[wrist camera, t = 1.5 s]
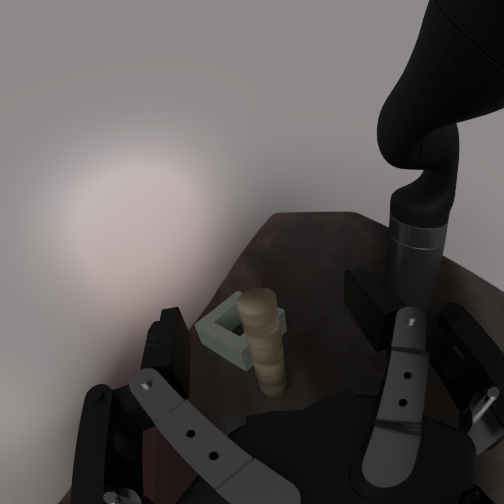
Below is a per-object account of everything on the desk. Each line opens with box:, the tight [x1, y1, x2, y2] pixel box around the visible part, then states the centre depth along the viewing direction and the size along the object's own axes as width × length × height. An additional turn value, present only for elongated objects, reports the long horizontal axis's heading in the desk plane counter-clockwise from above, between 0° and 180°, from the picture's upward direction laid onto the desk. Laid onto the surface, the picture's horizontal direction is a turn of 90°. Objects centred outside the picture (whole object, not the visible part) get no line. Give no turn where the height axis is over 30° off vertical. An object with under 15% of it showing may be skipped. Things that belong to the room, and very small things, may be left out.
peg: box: [237, 288, 288, 399], centre depth 30 cm, size 4×4×16 cm
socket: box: [195, 291, 287, 372], centre depth 42 cm, size 10×10×4 cm
